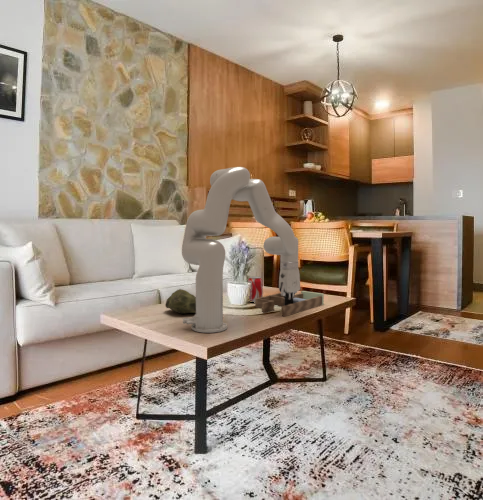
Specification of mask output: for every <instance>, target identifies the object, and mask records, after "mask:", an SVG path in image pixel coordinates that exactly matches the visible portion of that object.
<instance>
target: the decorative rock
mask: <svg viewBox="0 0 483 500" xmlns="http://www.w3.org/2000/svg"><path fill="white" fill-rule="evenodd" d="M165 308H166V309H170V310H172V312H174V313H179V314H180V315H185V314H189V313H191V314H192V313H193V314H196V295H194V294H192V293H191V292H189V291H187V290H184V289H181V288H179V289H177V290H175V291H173V292H172V293H171V295H170V296H169V297H168V298H167V299H166V301H165Z"/></svg>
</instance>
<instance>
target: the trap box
mask: <svg viewBox="0 0 483 500" xmlns="http://www.w3.org/2000/svg"><path fill="white" fill-rule="evenodd" d="M294 298H301V299H303V294H302V293H301V292H300V293H296V294H294ZM254 305H255V306H254V307H255V308H256V309H261V313H262V312H263V314H264V313H265V314H266V313H269V312H271V311H272V310H273V311H274V310H275V305H278V306H277V307H280V308H281V317H287V316H291V315H294V314H297V312H298V313H300V311H301V312H304V311H307V310H311V309H314V308H316V307H320V306H323V305H322V296H318V297H314V298H311V299H307V300H303V301H300V302H296V303H292V304H289V305H285V299H284V296H281V292H278V293H274V294H270V295H269V294H268V295H265V296H263V297H260V298H255V303H254ZM268 311H269V312H268Z"/></svg>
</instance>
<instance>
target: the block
mask: <svg viewBox="0 0 483 500" xmlns="http://www.w3.org/2000/svg"><path fill="white" fill-rule="evenodd" d="M303 300H307V299H301V298H294V299H293V303H296V302H300V301H303Z"/></svg>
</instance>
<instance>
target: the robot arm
mask: <svg viewBox="0 0 483 500" xmlns="http://www.w3.org/2000/svg"><path fill="white" fill-rule="evenodd" d="M209 184H210V186H211V187H210V189H209V191H208V193H207V197H206V200H205V205H204V208H203V209H197V210H194V211H193V212H191V214H189V216H188V218H187V221H186V223H185V229H184V234H183V240H182V243H181V255H182V259H183V260H184V262H186V263H187V264H189V265H192V266H193V265H194V266H198V269H197V271H196V276H195V297H196V313H195V314H194V315H193V316H191V317H183V318H182V324H183V325H184V324H185V325H191V330H192V331H194V332H197V333H204V334H209V333H211V334H213V333H219V332H223V331H225V330H227V329H228V324H227V323H226V322H224V317H223V316H224V313H223V312H224V311H223V310H224V309H223V308H224V304H223V303H224V298H223V297H224V292H223V291H224V290H223V287H224V285H223V281H224V280H223V278H224V275H223V274H224V264H225V260H226V249H225V247H224V245H223V244H222V242H220V241H218V240H216V239H211V238H207V237H216V236H217V237H219V236H221V235H223V234H224V233H225V231H226V228H227V223H228V219H229V213H230V212H229V211H230V206H231V202H232V200H234V201H237V202H248V205H249V208H250V209H251V212H252V214H253V217H254V219H255V221H256V222H257V223H258V224H261V225H262V226H264V227H267V228H268V229H271V230H272V231H273V232H274V233H275V234H276V235H277V236H270V237H267V238H265V240H264V241H263V244H262V245H263V249H264V251H265V252H266V253H267V254H269V255H274V256H280V267H279V268H280V270H279V278H278V279H279V280H278V290H279V293H281V296H284V299H285V305H289V304H292V303H293V299H294V295H296V294H298V292H299V291H300V290H301V274H300V270H299V239H298V237H297V236H295V233H294V231H293V229H292V227H291V225H290V224H289V223H288V222H287V221H286V220H285V219H284V218H283V217H282V216H281V215H280V214H278V213H277V212H276V210H275V207H274V205H273V202H272V199H271V197H270V194H269V192H268V190H267V186H266V184H265V183H264V181H263V180H262V179H258V178H251V173H250V171H249V169H247V168H246V167H244V166H234V167H233V166H232V167H227V168H221V169H217V170H215V171H214V172H213V173H211V175H210V178H209Z"/></svg>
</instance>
